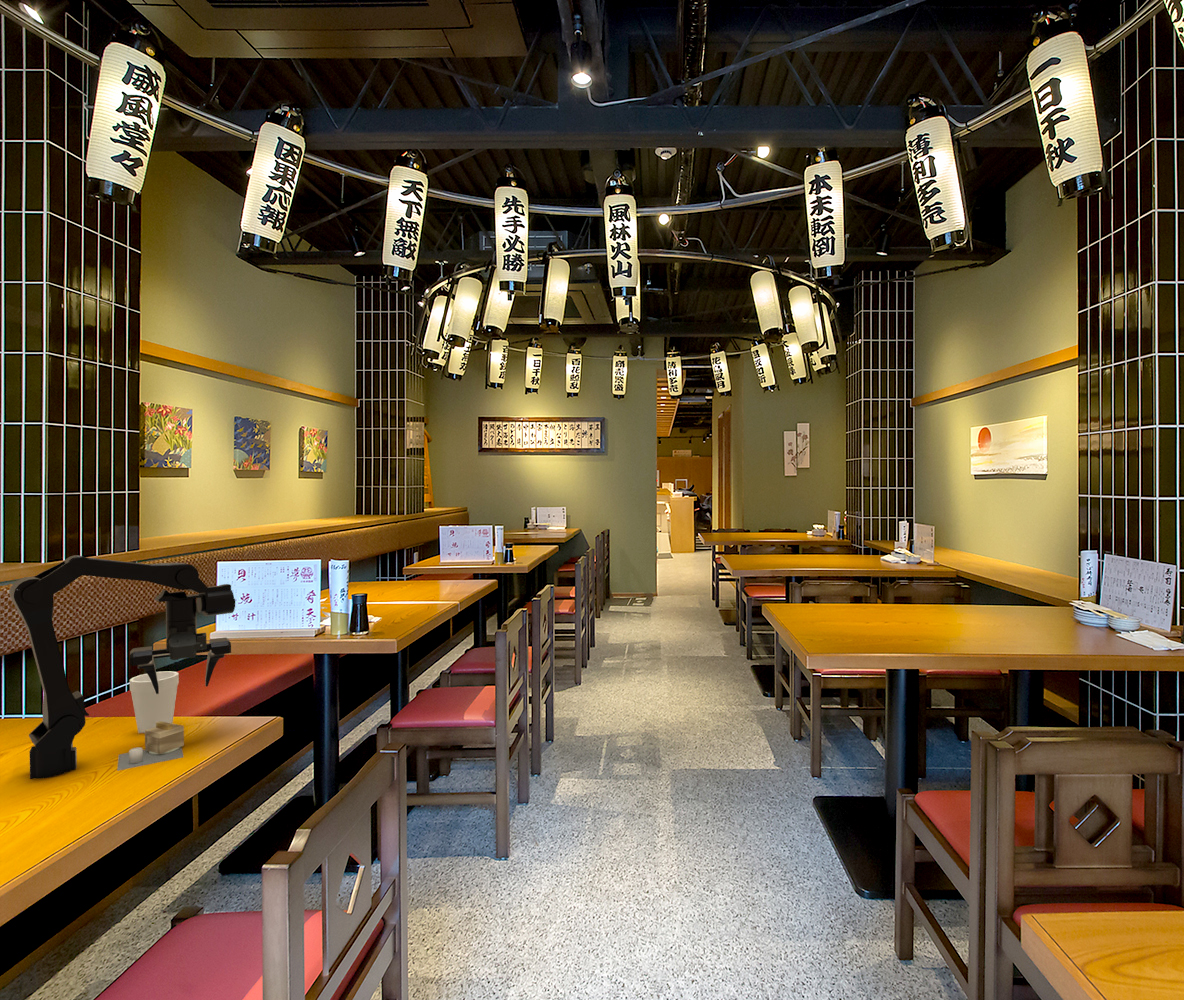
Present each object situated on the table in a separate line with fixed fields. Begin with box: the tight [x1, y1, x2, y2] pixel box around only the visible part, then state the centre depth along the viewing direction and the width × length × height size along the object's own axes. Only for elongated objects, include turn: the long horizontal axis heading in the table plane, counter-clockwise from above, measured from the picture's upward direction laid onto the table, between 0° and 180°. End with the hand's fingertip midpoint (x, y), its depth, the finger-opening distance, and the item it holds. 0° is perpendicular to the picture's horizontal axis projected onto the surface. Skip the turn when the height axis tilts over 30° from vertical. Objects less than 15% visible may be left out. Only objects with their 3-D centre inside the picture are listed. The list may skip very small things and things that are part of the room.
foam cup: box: [129, 670, 180, 734], centre depth 151 cm, size 10×9×13 cm
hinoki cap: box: [144, 722, 185, 754], centre depth 137 cm, size 5×5×5 cm
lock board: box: [116, 746, 184, 772], centre depth 134 cm, size 11×10×4 cm
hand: (182, 689), depth 143 cm, fingers open, 9 cm apart
